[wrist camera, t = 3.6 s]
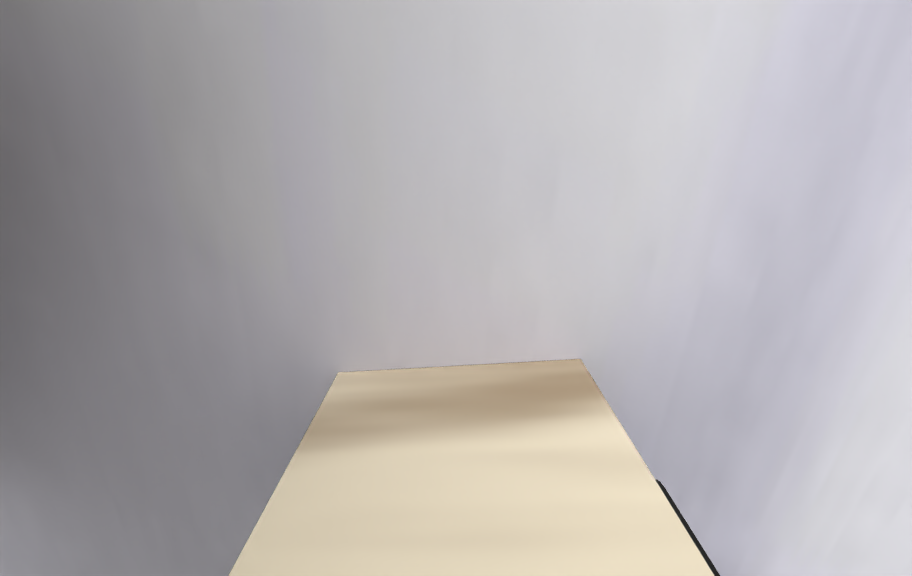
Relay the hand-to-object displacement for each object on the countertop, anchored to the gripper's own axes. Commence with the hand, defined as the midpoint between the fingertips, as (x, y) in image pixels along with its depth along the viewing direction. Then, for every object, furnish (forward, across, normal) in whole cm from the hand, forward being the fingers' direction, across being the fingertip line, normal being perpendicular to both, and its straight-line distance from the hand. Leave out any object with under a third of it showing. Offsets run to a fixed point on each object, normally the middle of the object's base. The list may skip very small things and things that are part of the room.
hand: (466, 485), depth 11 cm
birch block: (+1, 0, 0) cm, 1 cm away
